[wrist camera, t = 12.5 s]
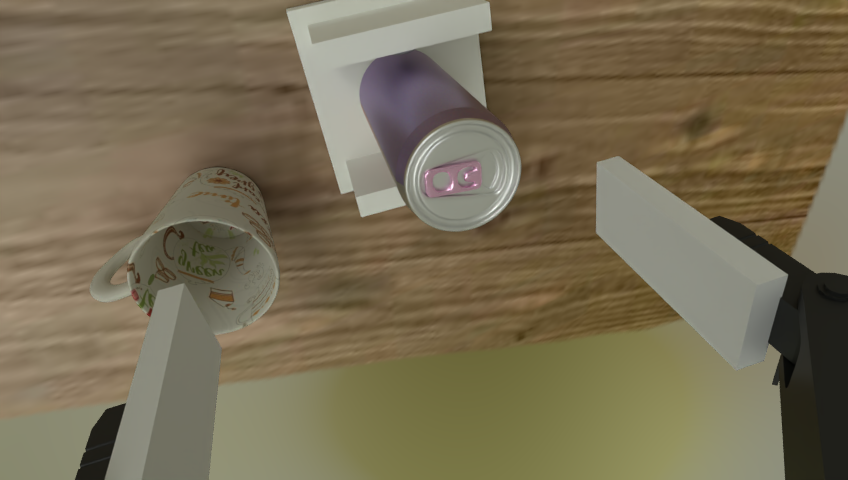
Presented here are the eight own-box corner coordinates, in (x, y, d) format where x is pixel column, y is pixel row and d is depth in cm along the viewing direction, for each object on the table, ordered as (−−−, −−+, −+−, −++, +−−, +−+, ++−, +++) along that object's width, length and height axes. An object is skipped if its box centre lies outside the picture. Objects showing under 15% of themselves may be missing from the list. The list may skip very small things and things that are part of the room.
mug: (298, 226, 41) (303, 303, 33) (150, 287, 41) (117, 381, 33) (245, 133, 37) (235, 196, 28) (78, 202, 36) (19, 285, 28)
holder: (339, 187, 40) (350, 234, 34) (286, 8, 33) (287, 28, 27) (486, 148, 42) (521, 187, 36) (465, -33, 34) (504, -22, 28)
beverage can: (351, 52, 34) (392, 128, 22) (439, 40, 35) (527, 105, 23) (364, 138, 37) (408, 246, 25) (444, 124, 38) (524, 222, 26)
